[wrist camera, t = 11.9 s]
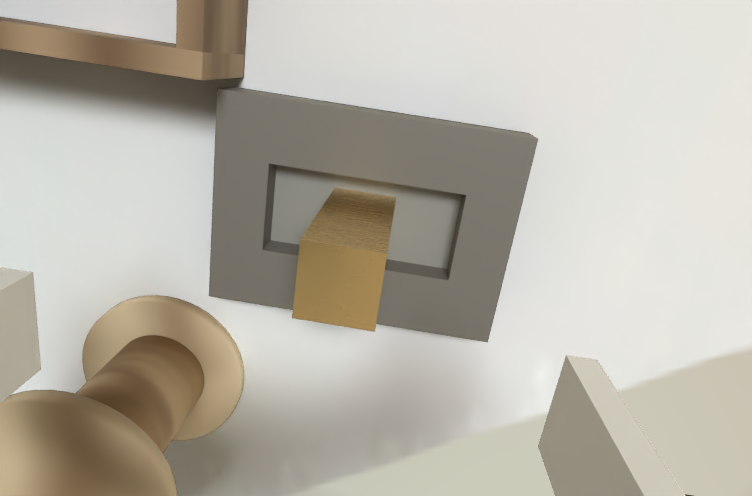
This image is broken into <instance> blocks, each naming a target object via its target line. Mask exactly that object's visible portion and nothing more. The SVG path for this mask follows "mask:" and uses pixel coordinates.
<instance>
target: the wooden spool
mask: <svg viewBox="0 0 752 496" xmlns="http://www.w3.org/2000/svg"><path fill="white" fill-rule="evenodd" d="M82 362H83V369H84V374H85V377H86V380H87V383H86V384H85V385H84V386H83V387H82V388H81V389H80V390H79V391H78V392H77V393H76V394H74V393H69V392H64V391H55V390H32V391H24V392H20V393H16V394H12V395H10V396H8V397H7V398H6V399H5V400H4V401H2V402H1V403H0V496H177V488H176V483H175V479H174V476H173V473H172V471H171V468H170V466H169V464H168V462H167V460H166V458H165V456H164V455H163V453H164V451H165V450H166V448H167V446H168V445H169V443H170V442H171V441H182V440H190V439H194V438H199V437H201V436H204V435H207V434H208V433H210V432H212V431H214V430H215V429H217V428H218V427H220V426H221V425H222V424H223V423H224V422H225V421H226V420H227V419H228V417H229V416H230V415H231V413H232V412H233V410H234V408H235V406H236V404H237V402H238V400H239V398H240V396H241V393H242V390H243V384H244V368H243V362H242V358H241V355H240V352H239V350H238V348H237V346H236V344H235V342H234V340H233V339H232V337H231V335H230V334H229V333H228V332H227V330H226V329H225V328H224V327H223V326H222V325H221V324H220V323H219V322H218V321H217V320H216V319H215V318H214V317H212V316H211V315H210V314H209V313H207V312H205V311H204V310H202V309H201V308H199V307H197V306H195V305H193V304H191V303H189V302H186V301H183V300H180V299H177V298H172V297H168V296H158V295H151V296H141V297H135V298H132V299H129V300H126V301H124V302H122V303H119V304H118V305H116V306H115V307H113V308H112V309H110V310H109V311H108V312H107V313H105V314H104V315H103V316H102V317H101V318H100V319H99V320H97V321H96V323H95V324H94V325H93V326H92V328H91V329H90V331H89V333H88V335H87V337H86V340H85V343H84V348H83V360H82Z"/></svg>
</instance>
